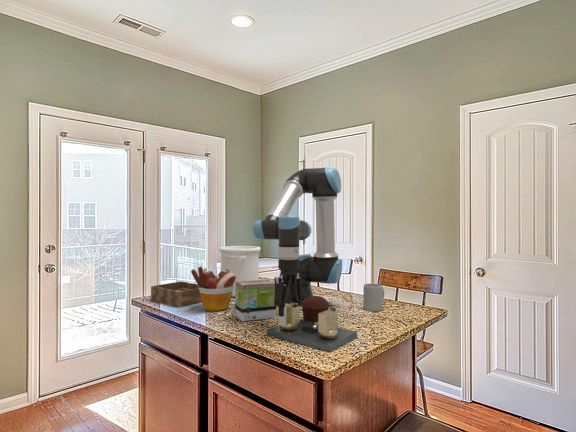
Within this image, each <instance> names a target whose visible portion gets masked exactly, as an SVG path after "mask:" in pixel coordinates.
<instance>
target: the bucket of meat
mask: <svg viewBox="0 0 576 432" xmlns="http://www.w3.org/2000/svg"><path fill="white" fill-rule="evenodd" d="M197 271H198V272H197ZM226 272H227V273H226ZM226 272H223V271H221V270H220V271H219V273H218V274H215V273H214V272H213V271H212V270H209V271H208V268H207V267H204V268H203V266H198V268H197V270H196V269H191V271H190V273H191V275H192V277H193V278H194V281H195V282H196V284H198V287H199V291H200V296H201V301H202V303H201V305H202V308H203V309H204V310H205V311H208V312H221V311H225V310H227V309H228V308H229V307H230V306H231V305H230V303H231V298H232V297H231V296H232V291H233V288H234V285H233V284H234V282H235V279H236V275H235V274H233V272H232V271H230V269H229V268H226Z"/></svg>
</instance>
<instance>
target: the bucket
mask: <svg viewBox="0 0 576 432" xmlns="http://www.w3.org/2000/svg"><path fill="white" fill-rule="evenodd" d="M261 250H262V249H261V247H260V246H254V245H230V246H229V245H227V246H219V247H218V251H219V252H220V272H221V271H223V272H226V268H229V269H230V271H232V272H233V274H235V275H236V279H235V282H234V284H233V285H234V288H233V291H232V296H231V298H235V286H236V282H238V281H254V280H260V279H259V278H260V277H259V262H260V261H259V260H260V259H259V255H260V253H259V252H261ZM226 273H227V272H226Z"/></svg>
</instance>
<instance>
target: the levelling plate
mask: <svg viewBox="0 0 576 432" xmlns="http://www.w3.org/2000/svg"><path fill="white" fill-rule="evenodd" d="M336 329H337V337H336V338H332V339H327V338H322V337H320V336H319V332H318V321H317V322H310V321H306V320H304V319H301V318H300V323H298V324H297V328H296V329H293V330H284V329H281V328H280V325H279V324H278V325H276V326H273V327H270V328H268V329H266V336H268V335H269V337H272V336H273V337H272V338H275V337H276V338H277V339H279V338H280V340H284V341H287V342H291V343H295V344H299V345H303V346H306V347H310V348H314V349H318V350H321V351H325V352H329V353H331V352H333V351H335V350H336V349H338V348H340V347H342V346H344V345H346V344H348V343H349V342H351V341H353V340H355V339H357V338H358V331H356V330H352V329H346V328H342V327H338V328H336Z"/></svg>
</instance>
